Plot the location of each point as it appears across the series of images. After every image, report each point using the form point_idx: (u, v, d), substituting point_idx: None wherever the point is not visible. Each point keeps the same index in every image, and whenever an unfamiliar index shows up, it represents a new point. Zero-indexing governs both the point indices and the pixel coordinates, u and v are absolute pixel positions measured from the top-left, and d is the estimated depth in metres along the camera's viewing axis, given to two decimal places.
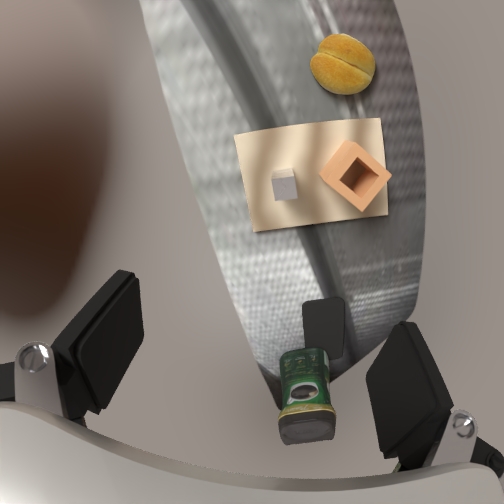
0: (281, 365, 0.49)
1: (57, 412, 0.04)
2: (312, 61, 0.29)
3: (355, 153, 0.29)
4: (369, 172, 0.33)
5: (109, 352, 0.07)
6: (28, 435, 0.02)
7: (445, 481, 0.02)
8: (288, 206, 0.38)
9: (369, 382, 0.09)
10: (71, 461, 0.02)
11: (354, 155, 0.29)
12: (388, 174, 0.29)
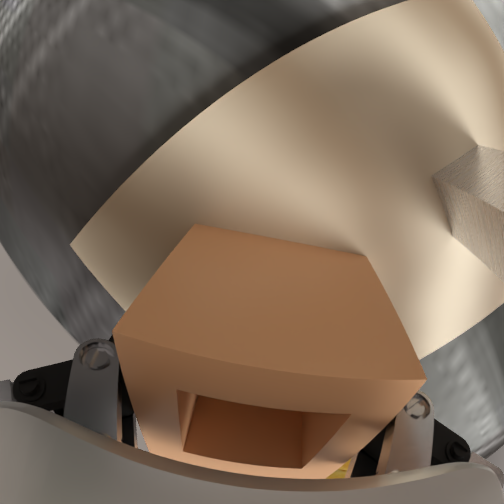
0: None
1: (111, 416, 0.04)
2: None
3: (313, 470, 0.06)
4: None
5: None
6: (28, 435, 0.02)
7: (445, 481, 0.02)
8: (424, 88, 0.06)
9: None
10: (71, 461, 0.02)
11: (314, 467, 0.06)
12: (160, 453, 0.07)
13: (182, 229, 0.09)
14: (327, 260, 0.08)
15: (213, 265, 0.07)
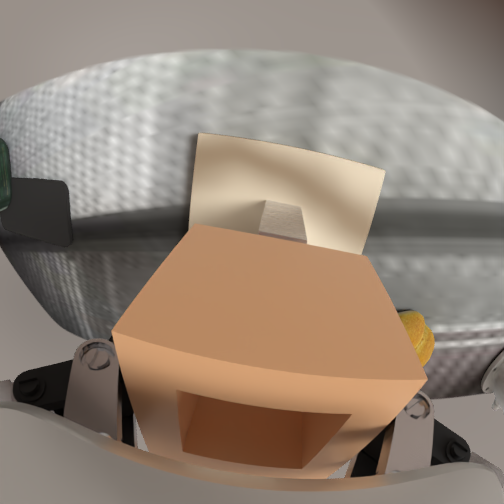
0: None
1: (111, 416, 0.04)
2: (421, 320, 0.23)
3: (313, 471, 0.06)
4: None
5: None
6: (28, 435, 0.02)
7: (445, 481, 0.02)
8: (228, 209, 0.21)
9: None
10: (71, 461, 0.02)
11: (314, 468, 0.06)
12: (160, 454, 0.07)
13: None
14: (327, 260, 0.08)
15: (212, 264, 0.07)
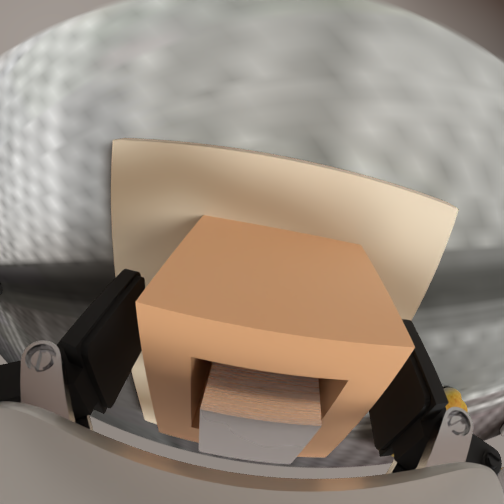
0: None
1: (63, 412, 0.04)
2: (459, 401, 0.13)
3: (314, 446, 0.07)
4: None
5: (115, 351, 0.07)
6: (29, 435, 0.02)
7: (445, 481, 0.02)
8: None
9: None
10: (71, 461, 0.02)
11: (315, 442, 0.07)
12: (169, 432, 0.08)
13: None
14: (324, 247, 0.09)
15: (221, 249, 0.08)
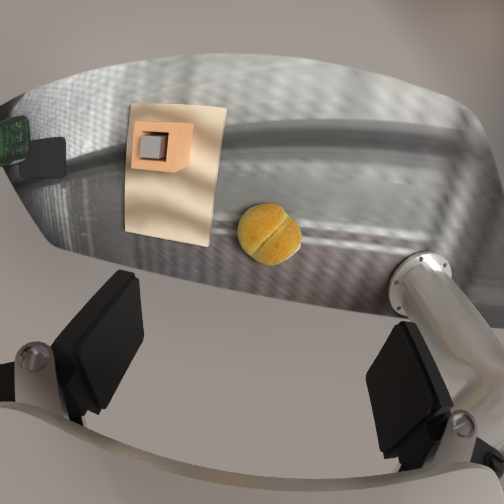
0: (17, 118, 0.31)
1: (57, 412, 0.04)
2: (278, 208, 0.37)
3: (169, 163, 0.31)
4: None
5: (109, 352, 0.07)
6: (28, 436, 0.02)
7: (445, 481, 0.02)
8: None
9: (369, 382, 0.09)
10: (72, 461, 0.02)
11: (168, 161, 0.31)
12: (133, 166, 0.31)
13: (139, 203, 0.39)
14: None
15: None
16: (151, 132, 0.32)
